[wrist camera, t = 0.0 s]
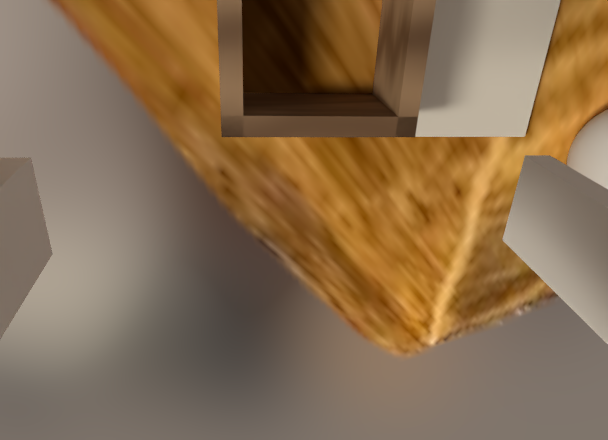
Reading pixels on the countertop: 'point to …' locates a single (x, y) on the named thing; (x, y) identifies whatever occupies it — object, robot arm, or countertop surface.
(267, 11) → the countertop surface
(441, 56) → the coaster
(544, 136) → the countertop surface
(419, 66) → the carrier
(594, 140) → the ornament
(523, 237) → the robot arm
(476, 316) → the countertop surface
